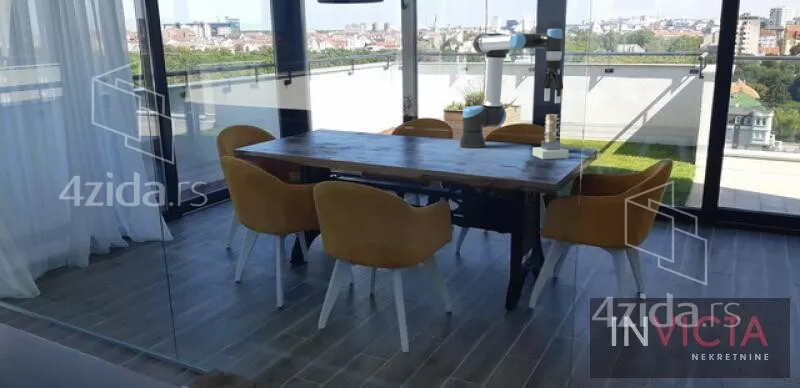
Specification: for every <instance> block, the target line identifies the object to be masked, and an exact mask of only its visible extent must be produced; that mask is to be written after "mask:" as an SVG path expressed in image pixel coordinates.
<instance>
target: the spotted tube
mask: <svg viewBox="0 0 800 388" xmlns="http://www.w3.org/2000/svg"><path fill="white" fill-rule="evenodd" d="M555 115H557V124H556V141H558V142H560V143H561V141H560V139H561V137H560V136H561V117H562V115H561V114H557V113H555ZM543 134H544V138H543V141H546V114H545V115H544V133H543Z"/></svg>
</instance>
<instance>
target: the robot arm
mask: <svg viewBox="0 0 800 388" xmlns="http://www.w3.org/2000/svg"><path fill="white" fill-rule="evenodd" d="M546 31H547V32H545V33H540V32H539V33H522V32H521V33H513V34H511V33H510V34H506V33H501V32H498V33H497V32H494V33H492V32H491V33H480V34H478V35H476V36H475V37H474V38H473V42H472V46H473V49H474V51H475V52H476V53H477V54H481V55H485V58H486V59H487V60H488V62H487V73H486V74H487V75H486V77H487V79H486V92H485V101H484V102H483V103H482V105H471V106H467V107H464V108H463V109H462V135H461V137H460V140H459V147H460V148H465V149H467V148H468V149H479V148H485V147H486V139H485V137H484V132H483V129H484V128H496V127H499V126H502V125H504V123H505V121H506V118H507V111H506V109H505V107H503V106H504V105H503V103H502V102H501V99H502V97H501V96H502V83H503V72H504V71H503V69H504V60H506V58H507V54H509V53H510V52H511V50H520V49H521V50H522V49H537V50H538V49H546V54H545V57H546V58H545V60H546V61H545V67H546V69H545V74H544V78H543V83H542V87H543V88H544V92H543V93H544V96H543V97H544V99H543V101H544V102H550V98H551V84H552V82H553V84H554V87H555V88H554V91H555V92H554V104H561V98H562V97H561V96H562V90H563V89H564V84H563V78H562V70H561V69H560V68H562V55H563V52H562V51H563V49H562V48H563V39H564V38H563V29H561V28H548V29H547V30H546Z"/></svg>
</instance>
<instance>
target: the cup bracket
mask: <svg viewBox="0 0 800 388" xmlns="http://www.w3.org/2000/svg"><path fill="white" fill-rule="evenodd" d="M540 147H541V148H542V149H544V150H560V148H561V141H560V142H558V141H556V142H546V141H544V140H541V141H540Z"/></svg>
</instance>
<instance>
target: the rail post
mask: <svg viewBox="0 0 800 388" xmlns="http://www.w3.org/2000/svg"><path fill="white" fill-rule="evenodd" d="M555 114H556V113H555ZM555 114H554V113H548V114H545V115H546V142H556V124H557V115H555Z"/></svg>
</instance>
